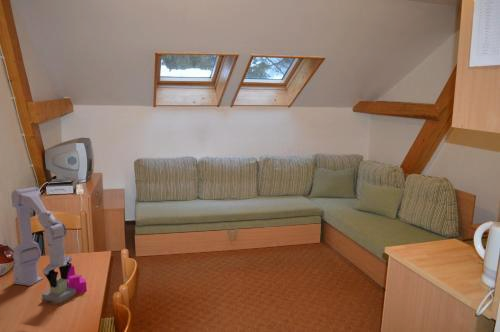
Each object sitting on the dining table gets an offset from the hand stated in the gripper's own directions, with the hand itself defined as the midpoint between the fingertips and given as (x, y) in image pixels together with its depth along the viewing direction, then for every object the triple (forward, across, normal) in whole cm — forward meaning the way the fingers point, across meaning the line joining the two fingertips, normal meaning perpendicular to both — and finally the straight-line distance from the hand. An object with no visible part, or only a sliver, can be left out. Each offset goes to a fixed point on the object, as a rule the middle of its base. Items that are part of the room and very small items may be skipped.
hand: (59, 283), depth 166 cm
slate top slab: (+5, 0, 0) cm, 5 cm away
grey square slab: (+7, 0, 0) cm, 7 cm away
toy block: (+7, +11, +1) cm, 13 cm away
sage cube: (+3, 0, 0) cm, 3 cm away
